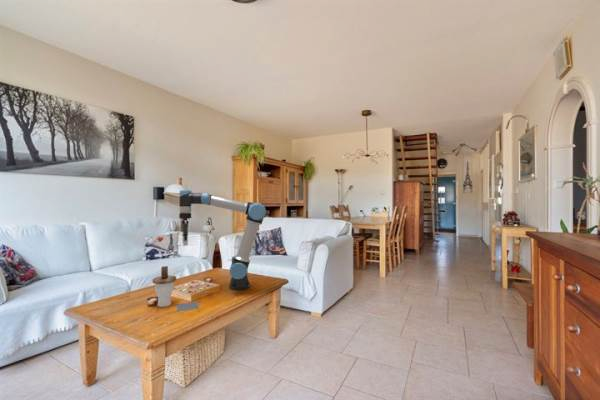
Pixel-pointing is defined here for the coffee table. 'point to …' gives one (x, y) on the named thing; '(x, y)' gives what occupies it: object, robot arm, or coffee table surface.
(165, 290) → the cup
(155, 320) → the coffee table surface
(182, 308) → the mat
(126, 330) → the coffee table surface
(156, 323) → the coffee table surface
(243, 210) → the robot arm
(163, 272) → the lid
